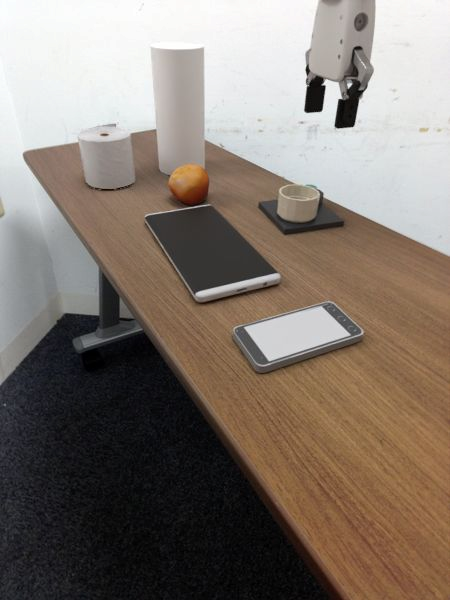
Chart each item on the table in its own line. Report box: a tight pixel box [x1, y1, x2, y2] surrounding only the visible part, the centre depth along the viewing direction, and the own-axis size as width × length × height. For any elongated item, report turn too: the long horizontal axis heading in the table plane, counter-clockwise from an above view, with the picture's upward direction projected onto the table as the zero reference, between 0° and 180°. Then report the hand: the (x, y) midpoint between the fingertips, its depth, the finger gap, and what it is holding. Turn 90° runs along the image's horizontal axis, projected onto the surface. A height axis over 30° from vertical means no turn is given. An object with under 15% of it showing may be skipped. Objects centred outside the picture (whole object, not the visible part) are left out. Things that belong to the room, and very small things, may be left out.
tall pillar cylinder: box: [150, 41, 206, 176], centre depth 93 cm, size 11×11×25 cm
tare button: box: [305, 184, 318, 190], centre depth 82 cm, size 3×3×2 cm
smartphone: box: [232, 300, 364, 374], centre depth 53 cm, size 7×1×15 cm
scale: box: [257, 188, 345, 236], centre depth 80 cm, size 12×12×3 cm
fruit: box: [168, 164, 210, 206], centre depth 84 cm, size 8×8×8 cm
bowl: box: [277, 183, 320, 223], centre depth 77 cm, size 7×7×4 cm
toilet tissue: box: [76, 122, 137, 188], centre depth 90 cm, size 11×12×10 cm
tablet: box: [144, 204, 282, 303], centre depth 69 cm, size 13×27×2 cm, turn 24°
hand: (327, 119), depth 67 cm, fingers open, 9 cm apart
